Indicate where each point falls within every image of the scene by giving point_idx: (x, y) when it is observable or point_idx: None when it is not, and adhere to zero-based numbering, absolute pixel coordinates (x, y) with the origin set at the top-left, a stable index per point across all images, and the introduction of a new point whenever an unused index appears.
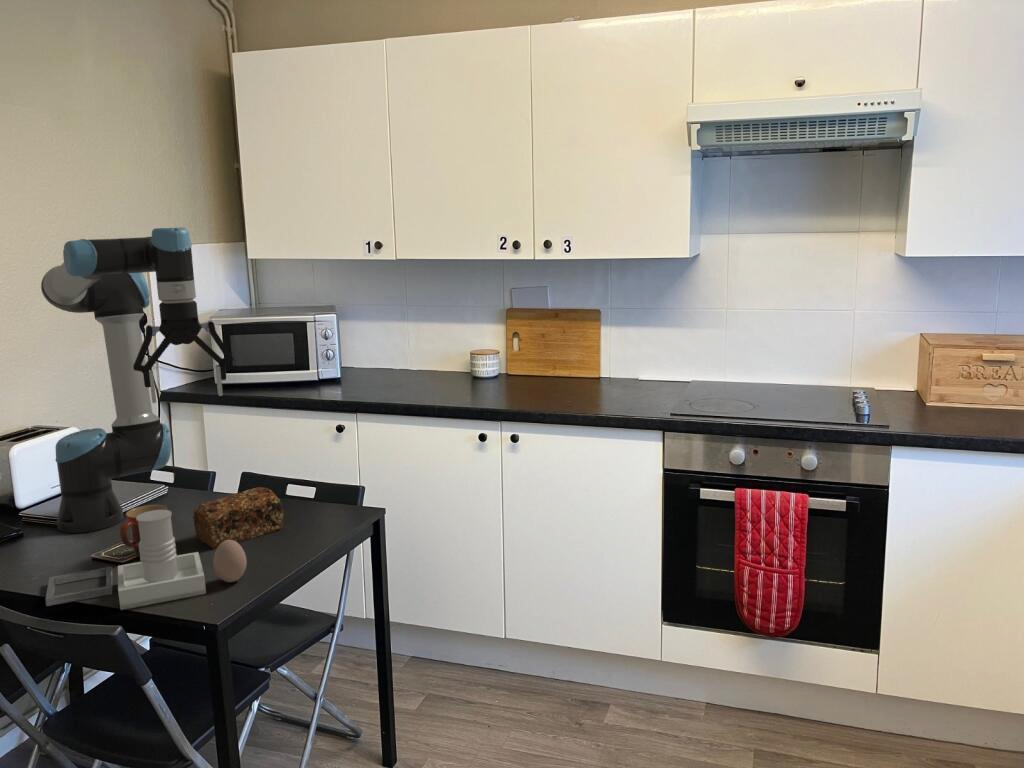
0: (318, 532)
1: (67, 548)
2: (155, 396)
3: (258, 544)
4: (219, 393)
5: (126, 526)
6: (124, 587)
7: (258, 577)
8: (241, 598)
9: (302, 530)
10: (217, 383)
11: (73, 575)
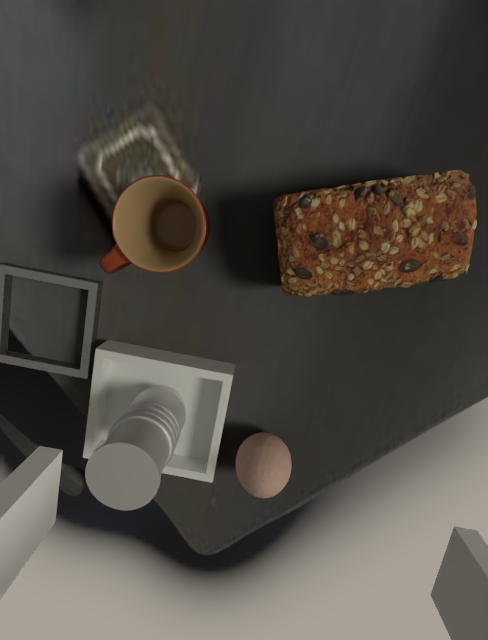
0: (481, 331)
1: (38, 75)
2: (31, 553)
3: (361, 316)
4: (440, 609)
5: (109, 271)
6: (102, 408)
7: (302, 457)
8: (254, 510)
9: (463, 299)
10: (483, 635)
11: (35, 279)
